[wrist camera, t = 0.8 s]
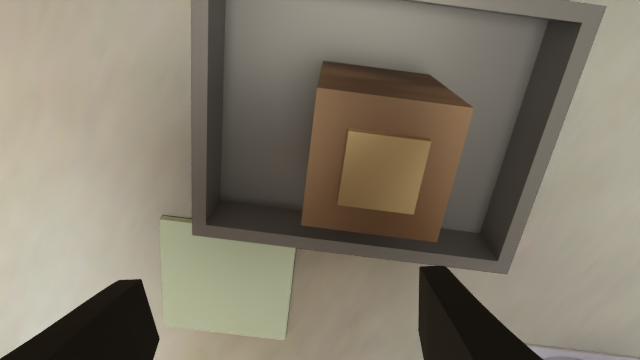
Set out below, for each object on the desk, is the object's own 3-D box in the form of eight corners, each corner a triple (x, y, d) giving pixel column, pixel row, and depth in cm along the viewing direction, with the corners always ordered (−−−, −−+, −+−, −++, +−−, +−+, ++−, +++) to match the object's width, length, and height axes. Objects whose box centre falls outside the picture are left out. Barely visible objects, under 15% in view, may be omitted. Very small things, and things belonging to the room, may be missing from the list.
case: (561, 5, 16) (606, 6, 14) (484, 238, 21) (507, 274, 18) (215, -41, 16) (190, -50, 14) (211, 204, 21) (191, 235, 18)
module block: (429, 74, 17) (477, 110, 11) (407, 172, 19) (439, 247, 13) (323, 60, 17) (316, 89, 11) (311, 160, 19) (299, 229, 13)
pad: (297, 232, 21) (297, 236, 21) (285, 335, 24) (285, 340, 24) (162, 215, 21) (159, 219, 21) (166, 321, 24) (163, 326, 23)
